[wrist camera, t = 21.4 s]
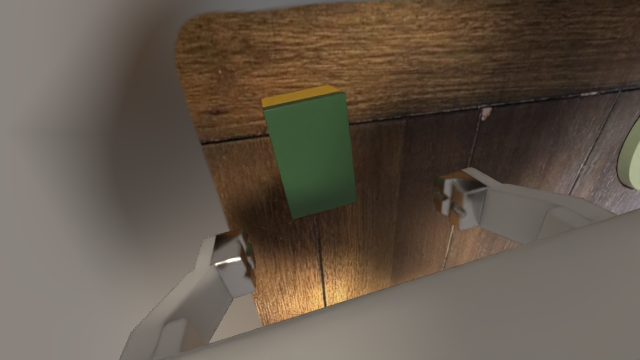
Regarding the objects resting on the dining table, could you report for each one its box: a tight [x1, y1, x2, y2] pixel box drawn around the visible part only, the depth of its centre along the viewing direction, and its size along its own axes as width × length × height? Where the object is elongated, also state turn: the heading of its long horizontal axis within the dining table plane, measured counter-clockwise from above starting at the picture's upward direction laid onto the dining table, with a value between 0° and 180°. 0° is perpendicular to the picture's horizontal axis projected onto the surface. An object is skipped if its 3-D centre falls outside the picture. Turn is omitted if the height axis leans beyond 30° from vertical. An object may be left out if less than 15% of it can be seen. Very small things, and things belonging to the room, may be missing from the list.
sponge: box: [262, 85, 357, 219], centre depth 18 cm, size 8×5×4 cm, turn 9°
